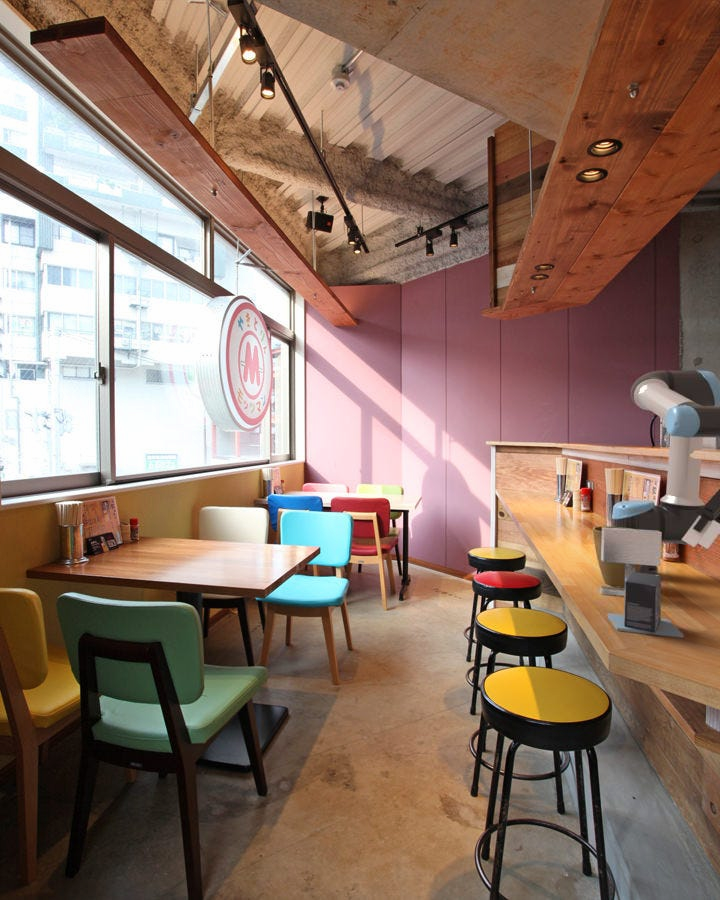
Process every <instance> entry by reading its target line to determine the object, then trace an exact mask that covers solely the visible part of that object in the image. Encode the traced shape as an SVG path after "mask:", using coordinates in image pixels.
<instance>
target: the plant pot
mask: <svg viewBox="0 0 720 900" xmlns="http://www.w3.org/2000/svg"><path fill="white" fill-rule="evenodd" d="M602 527H607V528H622V527H612V526H609V525H608V526H607V525H606V526H605V525H602V526H594V527H592V532H593V533H592V534H593V541H594V548H595V553H596V558H597V561H598V562H597V563H598V566H599V570H600V573H601V576H602V580H603V581H604V584H606V585H608V584H609V585H608V586H611V585H613V586H612V587H615V586H620V587H619V588H621V587H624V578H625V563H614V562H603V561H602V560H601V543H602ZM623 529H630V528H623ZM641 566H642V565H640V564H635V572H638V573H639V571H640V568H641Z"/></svg>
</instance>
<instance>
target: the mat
mask: <svg viewBox="0 0 720 900" xmlns="http://www.w3.org/2000/svg"><path fill="white" fill-rule="evenodd" d="M606 616H607V617H608V619H609V621H610V622H611V624H612V625H613V626H614V628H615V629H616V631H618V632H627V633H635V634H645V635H654V636H662V637H663V636H664V637H673V638H680V639H681V638H682V639H685V635H684V634H683V632H681V630H680V629H679V628H678V627H676V625H674V623H672V621H670V619H668V618H667V619H666V618H661V620H660V623H659V625H658V628H657V631H656V633H653V632H648V631H643V630H638V629H634V628H629V627H625V626H624V614H620V613H613V612H612V613H611V612H609V613H608V612H607V613H606Z"/></svg>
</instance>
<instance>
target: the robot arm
mask: <svg viewBox="0 0 720 900" xmlns="http://www.w3.org/2000/svg"><path fill="white" fill-rule="evenodd" d="M630 397H631V400H632V402H633V403H634V404H635V405H636V406H637V407H639V408H640V409H642V410H645V411H651V412H652V413H654V414H655V415H656V416H658V417H659V418H661V419H662V420H664V425H665V430H666V433H667V434H668V435H670V436H669V449H668V450H669V451H668V465H667V467H668V468H667V478H666V489H665V490H666V492H665V493H666V494H665V495H664V496H662V497H661V498H660V500H659V505H655V502H654V501H653V500H646V499H644V500H643V499H641V500H640V499H637V500H635V499H634V500H633V499H632V500H623V501H618V502H616V503H615V504H614V505H613V508H612V515H611V519H612V520H611V524H612V525H611V527H622V528H630V529H639V530H655V531H660V532H662V537H661V543H665V544H666V543H668V544H682V545H690V546H692V547H693V548H695V547H696V546H697V545H700V546H702V547H703V548H705V549H707V550H708V549H709V548H710V547H711V546H712V544H713V543H714V542H715V540H716V539H717V538H718V536H719V535H720V488H719V489H718V490H717V491H716V492H715V494H713V496H712V497H711V498H710V499H709V500H708V501H707V502H706V503H704V502H703V500H702V499H701V498H700V496H699V495H700V494H699V493H700V484H701V483H700V481H701V467H702V459H701V460H700V459H694V458H692V457H690V454H692V453H693V452H694V450H702V451H703V443H704V442H703V441H704V438H720V380H719V378H718V376H717V375H716V374H715V373H713V372H712V371H710V370H698V369H694V370H656V371H655V370H654V371H650V372H648V373H645V374H643V375H642V376H640V377H638V378H637V379H636V380H635V382H634V383H633V384H632V386H631V388H630ZM658 567H659V566H652V565H642V566H641V568H640V571H639V573H646V574H654V575H659V568H658Z"/></svg>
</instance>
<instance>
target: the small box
mask: <svg viewBox="0 0 720 900" xmlns="http://www.w3.org/2000/svg"><path fill="white" fill-rule="evenodd" d="M661 593H662V575H660V574H658V575H654V574H646V573H638V572H632V573H631V574H630V575H629V577H628V578H627V580H626V581H625V596H624V614H623V615H624V626H625V627H629V628H634V629H638V630H643V631H648V632H653V633H656V631H657V628H658V625H659V623H660V620H661V619H662V616H661V613H662V612H661V595H662V594H661Z"/></svg>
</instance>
